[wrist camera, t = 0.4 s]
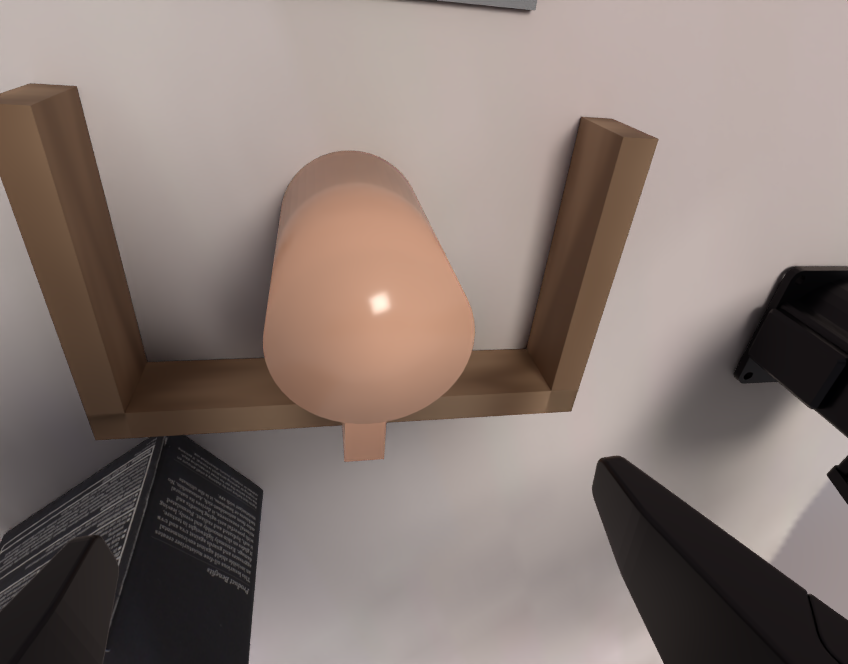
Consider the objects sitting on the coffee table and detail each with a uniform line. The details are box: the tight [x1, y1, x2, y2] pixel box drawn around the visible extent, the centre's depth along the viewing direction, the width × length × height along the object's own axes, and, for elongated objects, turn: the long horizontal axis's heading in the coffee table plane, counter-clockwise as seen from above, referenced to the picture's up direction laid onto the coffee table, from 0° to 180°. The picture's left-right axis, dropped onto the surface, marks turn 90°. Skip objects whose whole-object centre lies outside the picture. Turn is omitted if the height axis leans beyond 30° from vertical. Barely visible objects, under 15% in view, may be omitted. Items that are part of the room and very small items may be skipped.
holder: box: [0, 83, 658, 440], centre depth 18 cm, size 18×11×3 cm, turn 85°
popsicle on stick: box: [263, 151, 475, 462], centre depth 16 cm, size 5×7×8 cm
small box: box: [0, 435, 263, 664], centre depth 21 cm, size 11×6×10 cm, turn 122°
